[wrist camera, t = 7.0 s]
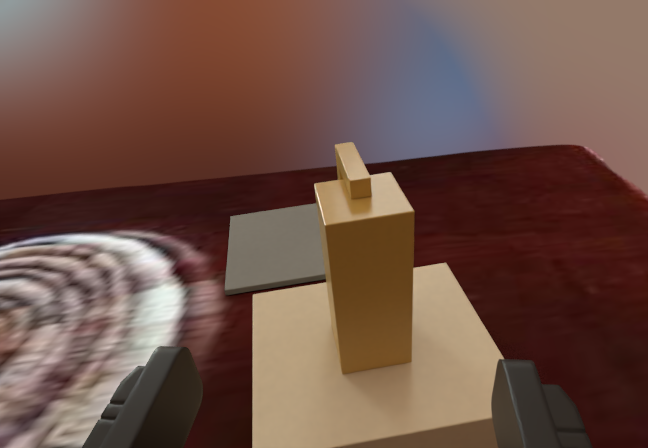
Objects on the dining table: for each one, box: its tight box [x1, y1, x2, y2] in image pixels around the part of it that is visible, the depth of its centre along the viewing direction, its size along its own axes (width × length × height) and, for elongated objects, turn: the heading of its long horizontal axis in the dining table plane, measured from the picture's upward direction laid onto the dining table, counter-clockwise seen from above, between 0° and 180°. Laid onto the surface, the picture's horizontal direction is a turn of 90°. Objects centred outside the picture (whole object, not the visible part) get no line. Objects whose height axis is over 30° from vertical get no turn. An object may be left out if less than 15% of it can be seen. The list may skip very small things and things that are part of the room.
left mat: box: [225, 203, 326, 295], centre depth 42 cm, size 16×12×1 cm
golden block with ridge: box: [314, 142, 414, 374], centre depth 24 cm, size 4×6×11 cm, turn 7°
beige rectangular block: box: [252, 263, 504, 448], centre depth 27 cm, size 14×12×4 cm
